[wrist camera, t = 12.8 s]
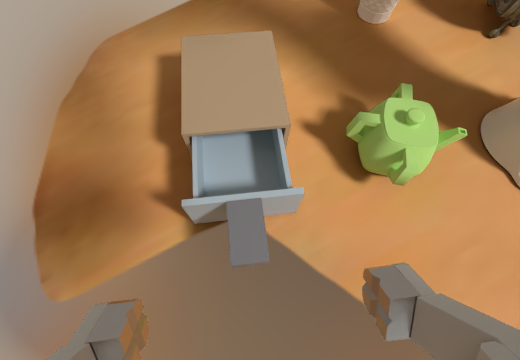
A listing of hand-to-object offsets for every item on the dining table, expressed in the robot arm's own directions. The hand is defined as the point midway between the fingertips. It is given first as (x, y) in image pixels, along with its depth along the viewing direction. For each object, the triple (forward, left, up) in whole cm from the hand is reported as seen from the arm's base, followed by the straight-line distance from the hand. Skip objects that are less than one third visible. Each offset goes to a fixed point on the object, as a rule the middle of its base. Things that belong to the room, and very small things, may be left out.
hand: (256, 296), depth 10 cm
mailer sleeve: (+14, -25, -26) cm, 39 cm away
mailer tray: (+8, -14, -25) cm, 30 cm away
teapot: (-11, -27, -26) cm, 39 cm away
